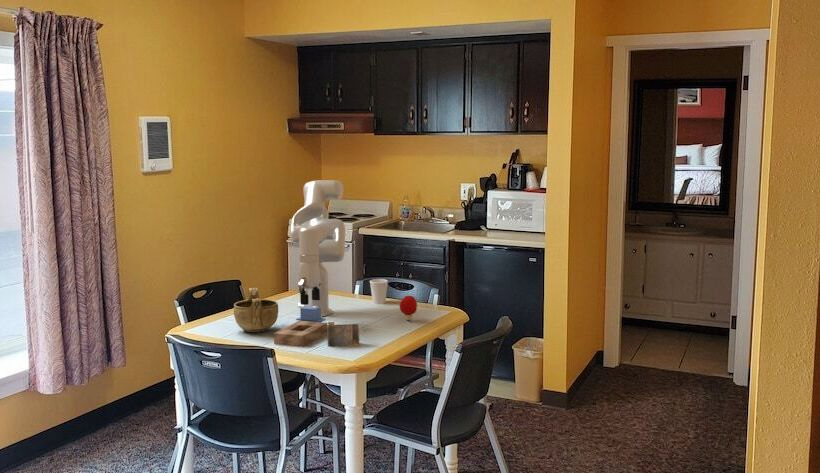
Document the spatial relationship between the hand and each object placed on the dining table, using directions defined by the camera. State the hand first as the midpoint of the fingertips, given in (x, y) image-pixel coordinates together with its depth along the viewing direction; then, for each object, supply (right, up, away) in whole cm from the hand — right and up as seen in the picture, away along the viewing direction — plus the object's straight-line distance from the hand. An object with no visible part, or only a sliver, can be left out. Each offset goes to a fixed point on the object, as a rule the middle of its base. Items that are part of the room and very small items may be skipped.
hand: (310, 302), depth 309 cm
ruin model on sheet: (+15, -14, -23) cm, 31 cm away
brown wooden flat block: (-2, -12, -14) cm, 19 cm away
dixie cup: (+25, -4, +46) cm, 53 cm away
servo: (0, -10, +2) cm, 10 cm away
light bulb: (+38, -9, +12) cm, 41 cm away
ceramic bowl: (-21, -11, -2) cm, 23 cm away
